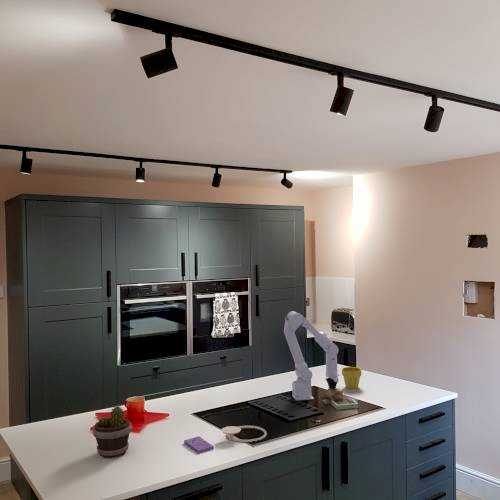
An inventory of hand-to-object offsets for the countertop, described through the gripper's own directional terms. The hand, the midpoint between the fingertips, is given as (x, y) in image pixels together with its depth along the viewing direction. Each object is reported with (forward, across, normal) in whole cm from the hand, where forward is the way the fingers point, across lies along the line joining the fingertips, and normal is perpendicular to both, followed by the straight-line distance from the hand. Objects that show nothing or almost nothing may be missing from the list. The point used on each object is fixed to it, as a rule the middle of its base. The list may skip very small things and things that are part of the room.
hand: (332, 392), depth 265 cm
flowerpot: (+2, -49, +105) cm, 116 cm away
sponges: (+2, -50, +72) cm, 88 cm away
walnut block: (+1, -4, 0) cm, 5 cm away
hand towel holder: (+2, -44, +54) cm, 69 cm away
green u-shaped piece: (+1, -15, 0) cm, 15 cm away
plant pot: (+2, +11, -15) cm, 19 cm away
